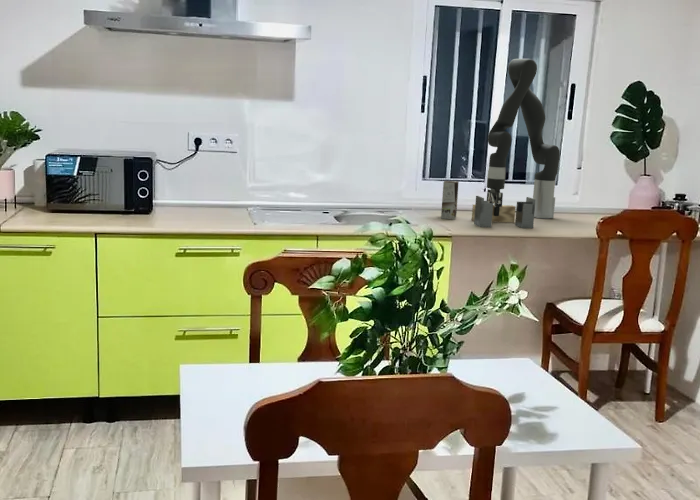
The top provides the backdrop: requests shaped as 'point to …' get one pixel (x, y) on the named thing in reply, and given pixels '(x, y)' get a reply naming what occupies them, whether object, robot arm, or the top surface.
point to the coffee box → (449, 199)
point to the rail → (501, 214)
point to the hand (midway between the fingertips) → (493, 214)
